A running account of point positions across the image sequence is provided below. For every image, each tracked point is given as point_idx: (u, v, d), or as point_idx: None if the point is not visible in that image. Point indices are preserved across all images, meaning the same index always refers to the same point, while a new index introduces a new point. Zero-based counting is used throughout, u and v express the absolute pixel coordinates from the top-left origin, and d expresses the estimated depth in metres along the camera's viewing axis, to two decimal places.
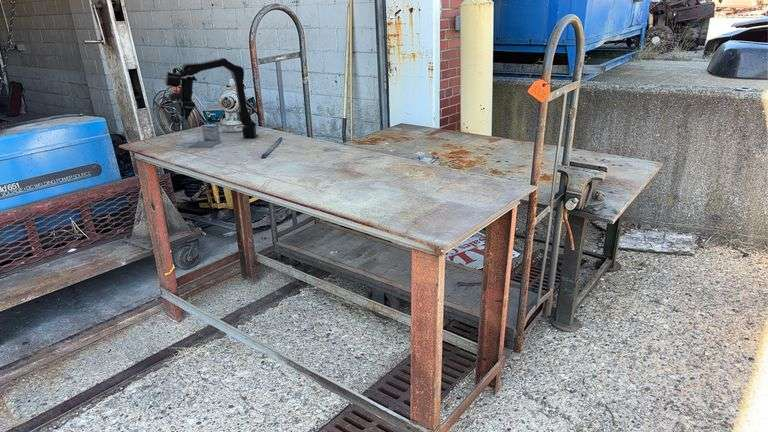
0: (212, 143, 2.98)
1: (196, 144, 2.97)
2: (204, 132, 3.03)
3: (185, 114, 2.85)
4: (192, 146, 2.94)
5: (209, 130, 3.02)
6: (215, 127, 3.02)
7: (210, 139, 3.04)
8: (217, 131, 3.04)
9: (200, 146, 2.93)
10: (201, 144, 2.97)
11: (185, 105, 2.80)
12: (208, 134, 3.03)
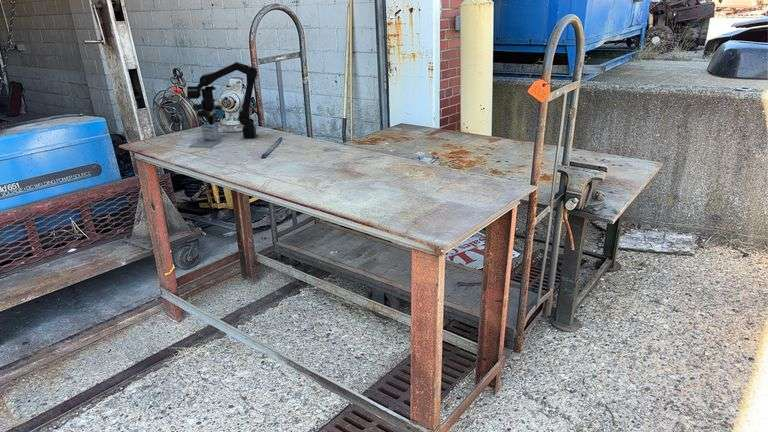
0: (212, 143, 2.98)
1: (196, 144, 2.97)
2: (203, 132, 3.03)
3: (209, 121, 3.04)
4: (192, 146, 2.94)
5: (208, 130, 3.01)
6: (215, 127, 3.01)
7: (210, 139, 3.04)
8: (216, 131, 3.03)
9: (200, 146, 2.93)
10: (201, 144, 2.97)
11: (198, 115, 2.94)
12: (208, 134, 3.03)
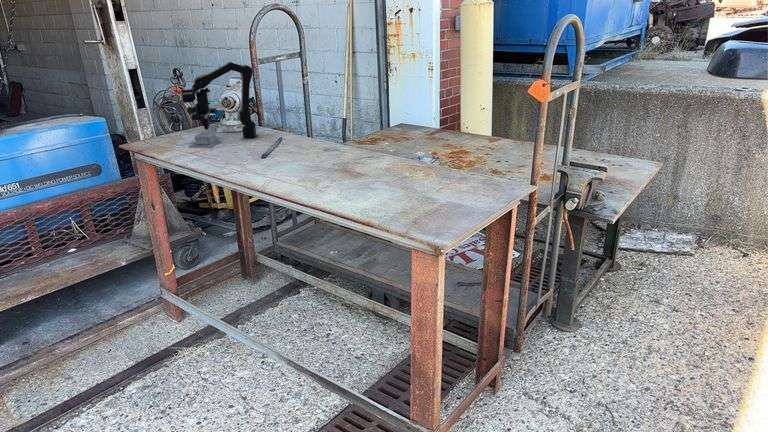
0: (212, 143, 2.98)
1: (196, 144, 2.97)
2: None
3: (204, 125, 2.98)
4: (192, 146, 2.94)
5: None
6: (209, 141, 2.96)
7: None
8: (211, 138, 2.98)
9: (200, 146, 2.93)
10: (201, 144, 2.97)
11: (193, 118, 2.89)
12: None
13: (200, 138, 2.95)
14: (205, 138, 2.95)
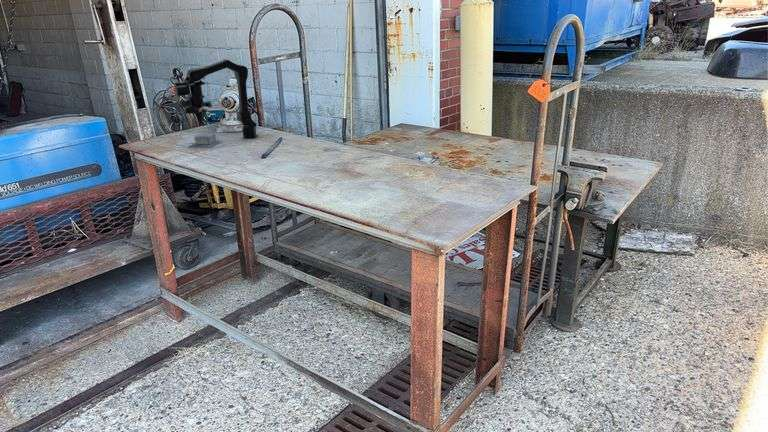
0: (212, 143, 2.98)
1: (196, 144, 2.97)
2: None
3: (198, 118, 2.91)
4: (192, 146, 2.94)
5: None
6: (209, 141, 2.96)
7: None
8: (211, 138, 2.98)
9: (200, 146, 2.93)
10: (201, 144, 2.97)
11: (187, 112, 2.82)
12: None
13: (200, 138, 2.95)
14: (205, 138, 2.95)
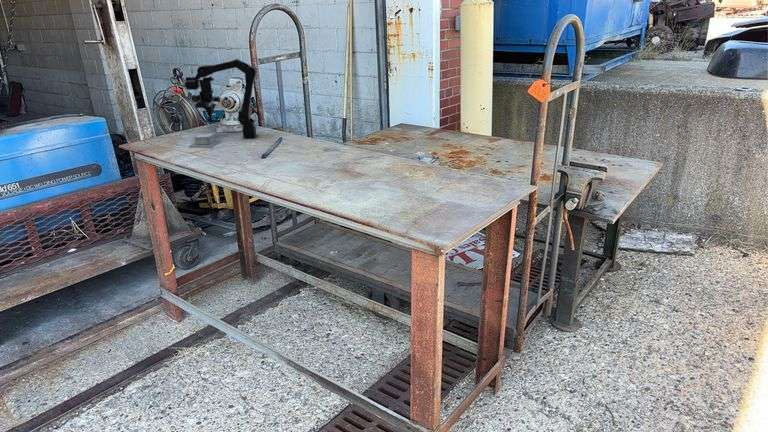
0: (212, 143, 2.98)
1: (196, 144, 2.97)
2: None
3: (207, 113, 3.03)
4: (192, 146, 2.94)
5: None
6: (209, 141, 2.96)
7: None
8: (211, 138, 2.98)
9: (200, 146, 2.93)
10: (201, 144, 2.97)
11: (197, 106, 2.94)
12: None
13: (200, 138, 2.95)
14: (205, 138, 2.95)
